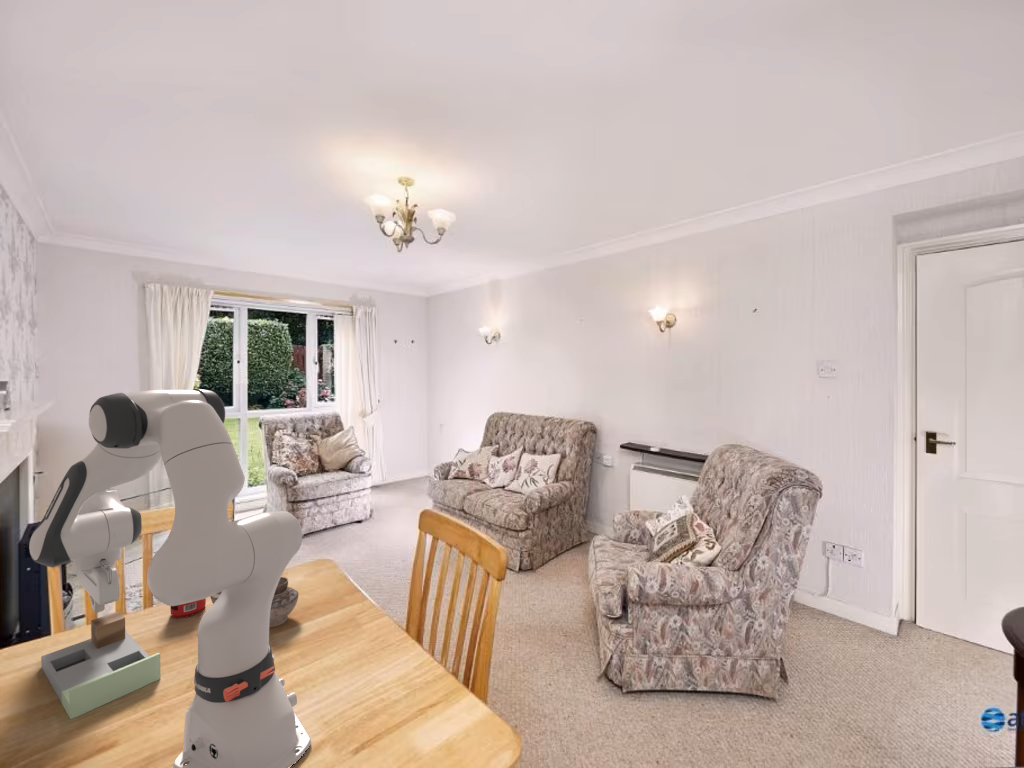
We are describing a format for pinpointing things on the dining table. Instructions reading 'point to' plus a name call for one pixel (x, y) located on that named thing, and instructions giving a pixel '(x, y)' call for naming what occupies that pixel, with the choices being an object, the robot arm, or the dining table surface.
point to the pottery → (278, 602)
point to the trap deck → (98, 673)
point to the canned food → (188, 609)
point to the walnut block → (107, 629)
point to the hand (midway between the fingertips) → (98, 610)
